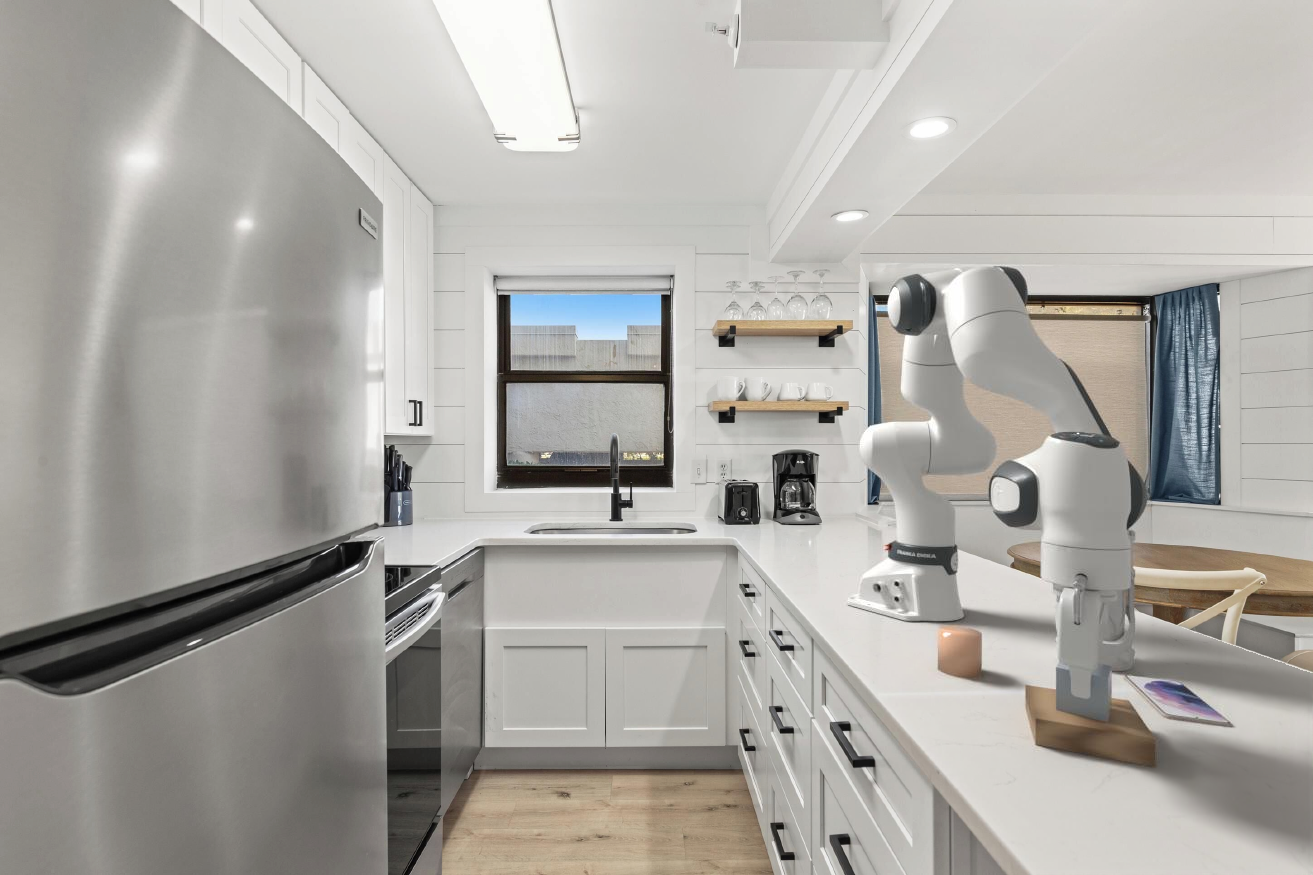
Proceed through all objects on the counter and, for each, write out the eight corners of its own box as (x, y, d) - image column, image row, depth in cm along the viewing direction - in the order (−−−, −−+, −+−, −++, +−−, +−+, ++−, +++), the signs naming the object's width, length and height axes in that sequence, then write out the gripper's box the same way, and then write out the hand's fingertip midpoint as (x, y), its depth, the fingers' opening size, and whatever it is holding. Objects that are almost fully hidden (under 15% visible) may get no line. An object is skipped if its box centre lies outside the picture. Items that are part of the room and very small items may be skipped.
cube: (1055, 709, 73) (1056, 667, 73) (1061, 696, 77) (1062, 656, 77) (1108, 722, 70) (1108, 677, 70) (1111, 707, 74) (1111, 665, 74)
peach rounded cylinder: (931, 670, 94) (931, 630, 94) (946, 660, 98) (946, 623, 98) (973, 681, 90) (973, 640, 90) (987, 671, 94) (987, 631, 94)
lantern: (1135, 677, 92) (1136, 508, 92) (1052, 661, 98) (1053, 504, 98) (1134, 653, 102) (1134, 502, 103) (1059, 641, 109) (1059, 498, 109)
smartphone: (1180, 681, 90) (1234, 724, 76) (1179, 686, 90) (1234, 731, 76) (1121, 673, 92) (1163, 714, 78) (1121, 679, 92) (1163, 721, 78)
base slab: (1035, 744, 71) (1035, 718, 71) (1025, 707, 81) (1025, 684, 81) (1155, 766, 66) (1155, 738, 66) (1129, 724, 76) (1129, 700, 76)
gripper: (1114, 588, 64) (1113, 723, 64) (1119, 559, 80) (1119, 666, 80) (1042, 579, 68) (1041, 706, 67) (1061, 553, 84) (1061, 656, 84)
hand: (1083, 684), depth 74 cm, fingers open, 7 cm apart
